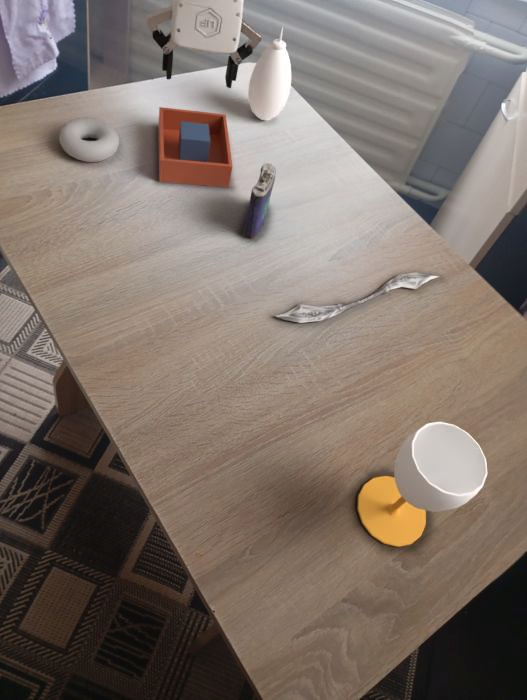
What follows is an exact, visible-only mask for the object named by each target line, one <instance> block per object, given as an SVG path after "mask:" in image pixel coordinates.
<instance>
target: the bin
mask: <svg viewBox="0 0 527 700" xmlns="http://www.w3.org/2000/svg"><path fill="white" fill-rule="evenodd" d="M180 121H183V122H192V123H202V124H208V125H209V135H210V146H209V154H208V161H207V162H199V161H188V160H179V148H178V143H179V132H180ZM157 128H158V129H157V130H158V131H157V132H158V182H159V183H172V184H182V185H184V184H185V185H196V186H207V187H219V188H221V187H222V188H229V187H230V184H231V183H230V182H231V177H232V171H233V160H232V151H231V145H230V138H229V137H230V136H229V129H228V121H227V115H226V114H225V113H216V112H207V111H199V110H190V109H180V108H172V107H162V106H160V107H159V109H158V127H157Z"/></svg>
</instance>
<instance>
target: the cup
mask: <svg viewBox="0 0 527 700" xmlns="http://www.w3.org/2000/svg"><path fill="white" fill-rule="evenodd" d="M393 466H394V467H393V468H394V471H393V472H394V474H393V475H394V476H389V475H383V476H375V477H373V478H371V479H369V480H368V482H366V483H364V484H363V486H362V487H361V489H360V491H359V493H358V494H357V508H356V509H357V513H358V516H359V519H360V521H361V525H363V527H364V528H365V529H366V531H367V532H368V533H369V535H370V537H371V536H372V537H373V538H375V539H376V540H378V541H379V542H380V543H382V544H383V545H388V546H391V547H396V548H400V547H405V546H409V545H412V544H414V543H415V541H417V540H418V539H419V538H420V537H422V534H423V533H424V530H425V527H426V525H427V522H426V521H427V516H426V515H427V511H428V512H431V513H438V512H443V511H448V510H453V509H457V508H459V507H461V506H463V505H465V504H467V503H468V502H470V500H471V499H473V498H474V497H475V496H476V495H478V493H479V492H480V491H481V489H482V488H483V487H484V484H485V482H486V479H487V476H488V465H487V458H486V456H485V454H484V451H483V450H482V448H481V446H480V444H479V443H478V442H477V441H476V440H475V439H474V438H473V437H472V435H471V434H470V433H469V432H467V431H466V430H464V429H463V428H460V427H459V426H457V425H456V424H452V423H448V422H444V421H435V422H428V423H425V424H423V425H422V426H420V427H419V428H418V429H416V430H415V431H414V432H412V433H411V434H409V435H408V436H407V437H406V439H405V440H404V442H403V443H402V445H401V446H400V449H399V451H398V452H397V455H396V457H395V461H394V465H393Z"/></svg>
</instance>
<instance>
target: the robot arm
mask: <svg viewBox="0 0 527 700" xmlns="http://www.w3.org/2000/svg"><path fill="white" fill-rule="evenodd" d="M244 2H245V0H172V5H170V6H167V7H165V8H162V9H159V10H156V11H153V12H150V13H147V14H146V17H145V21H146V25H147V26H148V29H149V31H150V34H151V35H152V40H154V42H156V45H158V46H159V48H160V49H161V51H162V65H161V70H162V72H163V71H164V72H166V73H165V74H166V77H165V78H166V80H169V81H170V80H172V76H173V75H172V73H173V63H174V49H175V48H176V47H177V46H178V47H180V48H185V49H189V50H197V51H203V52H208V53H209V52H210V53H214V54H215V53H216V54H223V55H229V56H228V58H227V59H228V60H227V63H226V71H225V77H224V79H225V86H226V88H227V89H232V84H233V81H234V82H236V81H237V78H238V77H237V76H238V70H239V66H240V65H241V64H242V62H243V61H244V60H245V59H247V58H248V57H249V56H251V55H252V54H253V52H254V50H256V49H257V47H258V45H259V44H260V43H261V42H262V35H261V32H260V31H258V30H257V29H256V28H255V27H253V26H252V25H251V24H250V23H248V22H247V21H245V20H244V19H243V13H244ZM167 21H170V31H169V32H167V33H166V34H164V32H163V31H162V29H161V28H160V27H159V25H160V24H162V23H165V22H167ZM241 33H242V34H243V35H244V36H246V37H247V38H248V40H247V41H246V42H245V43H243V44H242V45H241V46H239V44H240V37H241Z"/></svg>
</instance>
